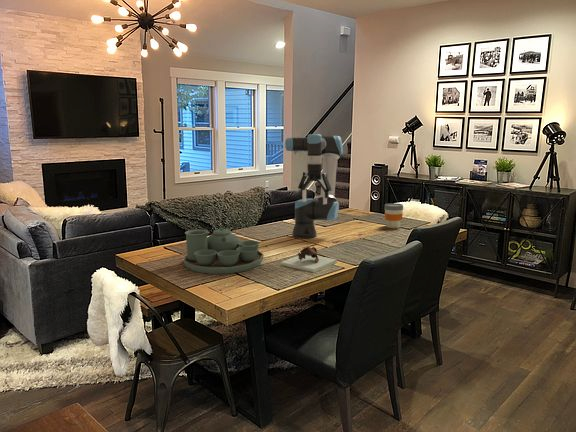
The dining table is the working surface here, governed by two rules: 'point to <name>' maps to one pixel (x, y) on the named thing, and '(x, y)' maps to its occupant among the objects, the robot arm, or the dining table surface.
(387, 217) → the reusable coffee cup
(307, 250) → the pottery mug
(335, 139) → the robot arm
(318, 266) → the sage tile
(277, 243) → the dining table surface
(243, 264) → the tea set
